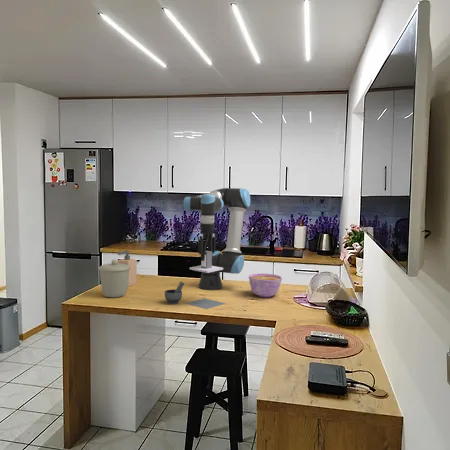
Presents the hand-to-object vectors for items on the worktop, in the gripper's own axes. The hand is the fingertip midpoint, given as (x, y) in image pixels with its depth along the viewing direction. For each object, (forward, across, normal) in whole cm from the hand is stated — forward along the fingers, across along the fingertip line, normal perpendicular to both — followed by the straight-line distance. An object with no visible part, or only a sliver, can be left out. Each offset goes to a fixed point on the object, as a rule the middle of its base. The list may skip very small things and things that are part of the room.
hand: (206, 265), depth 244 cm
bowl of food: (+22, +40, -12) cm, 47 cm away
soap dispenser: (+22, -2, +67) cm, 70 cm away
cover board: (+2, 0, 0) cm, 2 cm away
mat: (+21, 0, 0) cm, 21 cm away
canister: (+22, -23, +50) cm, 59 cm away
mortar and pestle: (+22, -11, +13) cm, 28 cm away
